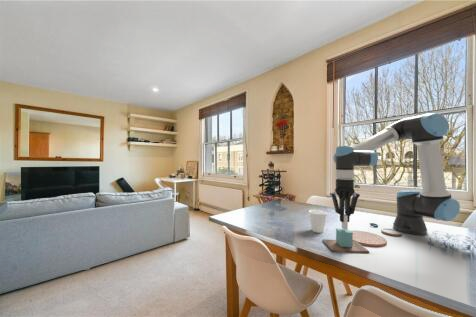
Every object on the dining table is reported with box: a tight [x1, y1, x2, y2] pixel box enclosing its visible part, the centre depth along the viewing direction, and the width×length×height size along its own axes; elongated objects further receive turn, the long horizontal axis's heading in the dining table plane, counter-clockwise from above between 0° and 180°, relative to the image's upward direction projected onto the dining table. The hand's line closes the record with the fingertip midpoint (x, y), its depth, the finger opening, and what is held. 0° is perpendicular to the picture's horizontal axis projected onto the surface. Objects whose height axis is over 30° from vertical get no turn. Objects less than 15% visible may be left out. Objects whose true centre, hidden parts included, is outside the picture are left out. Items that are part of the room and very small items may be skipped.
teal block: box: [335, 228, 354, 247], centre depth 95 cm, size 5×5×7 cm
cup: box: [308, 209, 328, 234], centre depth 115 cm, size 10×10×11 cm
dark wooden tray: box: [321, 238, 370, 254], centre depth 95 cm, size 16×12×7 cm
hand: (344, 228), depth 95 cm, fingers closed
